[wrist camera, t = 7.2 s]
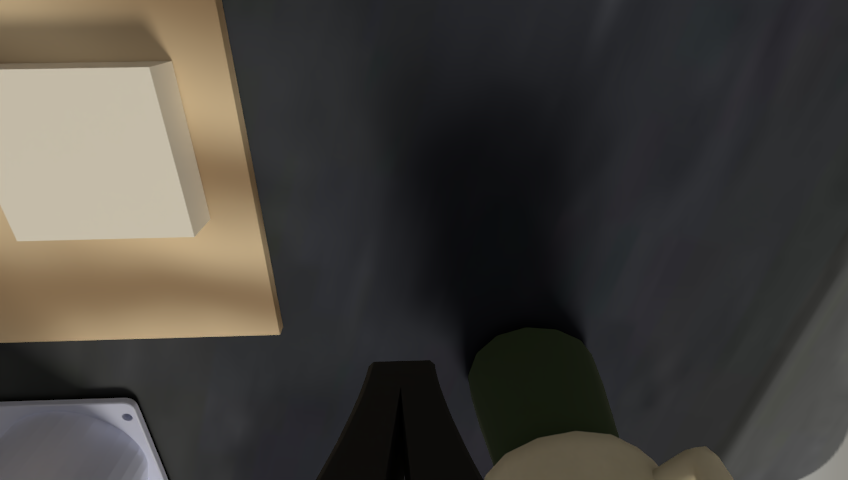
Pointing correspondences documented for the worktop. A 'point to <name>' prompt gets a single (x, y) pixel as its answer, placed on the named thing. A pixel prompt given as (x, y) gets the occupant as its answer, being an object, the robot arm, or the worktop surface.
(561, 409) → the character mug
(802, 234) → the worktop surface
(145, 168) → the tile
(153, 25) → the wooden cutting board
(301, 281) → the worktop surface
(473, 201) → the worktop surface
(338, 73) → the worktop surface
